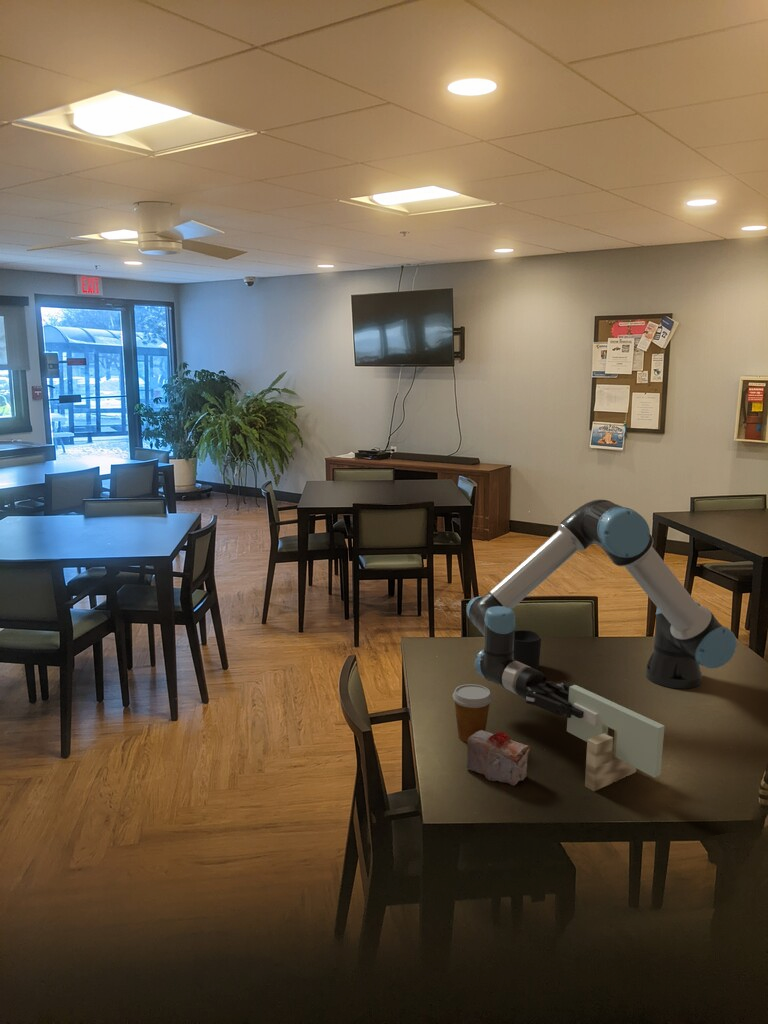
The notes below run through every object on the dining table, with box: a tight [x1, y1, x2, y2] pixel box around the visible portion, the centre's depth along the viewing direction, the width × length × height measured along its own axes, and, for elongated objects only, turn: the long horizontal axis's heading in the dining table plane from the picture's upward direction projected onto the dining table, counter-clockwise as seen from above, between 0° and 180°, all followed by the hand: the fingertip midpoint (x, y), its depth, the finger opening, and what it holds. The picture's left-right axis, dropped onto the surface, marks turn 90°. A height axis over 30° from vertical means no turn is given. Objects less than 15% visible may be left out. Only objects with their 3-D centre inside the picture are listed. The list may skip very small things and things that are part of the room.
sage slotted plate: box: [566, 684, 666, 778], centre depth 169 cm, size 24×2×11 cm, turn 34°
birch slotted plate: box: [584, 730, 637, 792], centre depth 170 cm, size 14×2×11 cm, turn 124°
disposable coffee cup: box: [452, 683, 493, 743], centre depth 189 cm, size 10×10×12 cm
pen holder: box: [513, 629, 542, 670], centre depth 231 cm, size 9×9×10 cm
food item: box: [466, 730, 531, 786], centre depth 173 cm, size 14×8×10 cm, turn 54°
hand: (600, 718), depth 172 cm, fingers closed on sage slotted plate, 2 cm apart
